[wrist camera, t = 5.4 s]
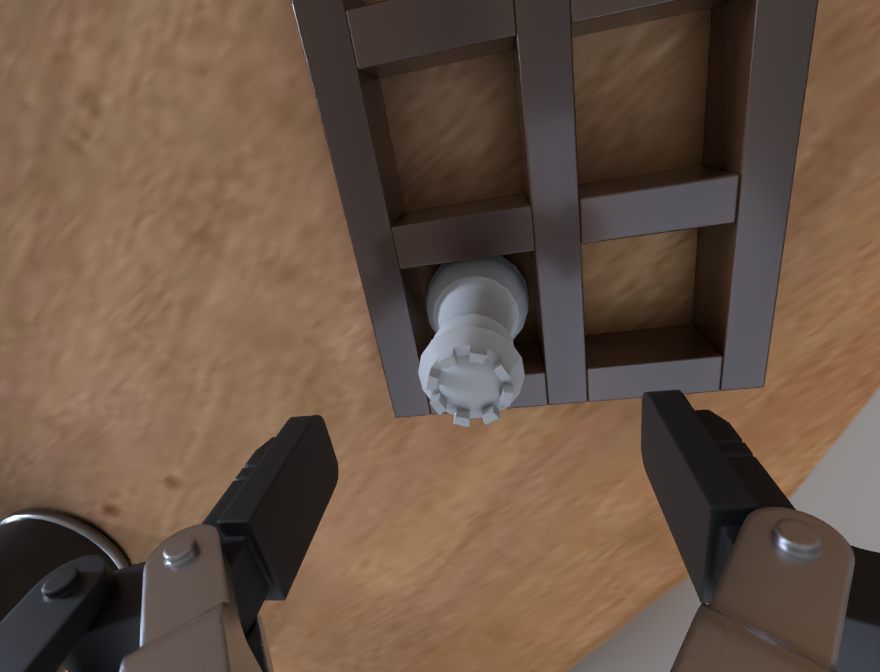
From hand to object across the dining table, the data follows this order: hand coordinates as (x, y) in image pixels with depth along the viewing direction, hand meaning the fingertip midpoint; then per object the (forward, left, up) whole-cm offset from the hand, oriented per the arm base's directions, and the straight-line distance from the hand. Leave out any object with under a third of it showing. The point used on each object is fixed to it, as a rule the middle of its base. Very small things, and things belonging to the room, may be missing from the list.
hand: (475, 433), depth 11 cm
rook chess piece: (0, 0, -10) cm, 10 cm away
